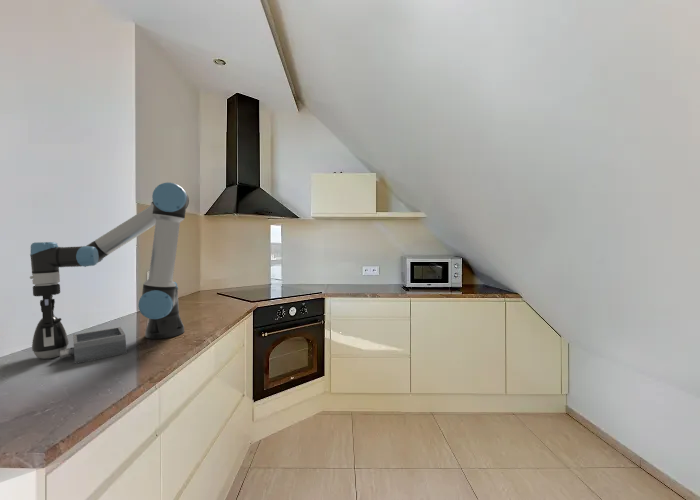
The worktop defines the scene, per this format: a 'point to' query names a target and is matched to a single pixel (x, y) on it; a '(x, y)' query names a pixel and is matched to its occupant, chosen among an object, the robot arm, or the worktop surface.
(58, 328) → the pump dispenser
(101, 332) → the block
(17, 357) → the worktop surface
